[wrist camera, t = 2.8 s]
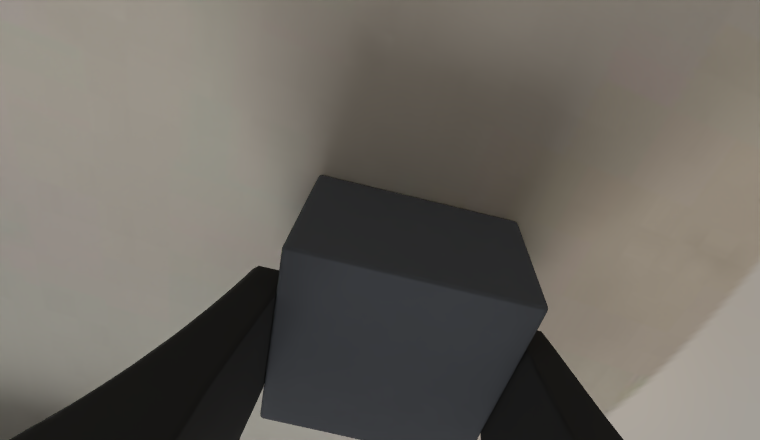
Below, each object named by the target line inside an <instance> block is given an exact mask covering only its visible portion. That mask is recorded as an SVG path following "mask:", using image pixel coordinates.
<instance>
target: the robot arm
mask: <svg viewBox="0 0 760 440" xmlns="http://www.w3.org/2000/svg"><path fill="white" fill-rule="evenodd" d="M278 277H279V270H274V269H270V268H266V267H261V266H258V267H256V268H254V269H253V270H251V271H250V272H249V273H248V274H247V275H246V276H245V277H244V278H243V279H242V280H241V281H239V282H238V283H237V284H236V285H235V286H234V287H233V288H232V289H230V290H229V291H228V292H227V293H226V294H225V295H224V296H222V297H221V298H220V299H219V300H218V301H216V302H215V303H214V304H213V305H212V306H210V307H209V308H208V309H207V310H205V311H204V312H203V313H202V314H200V315H199V316H198V317H197V318H195V319H194V320H193V321H192V322H190V323H189V324H188V325H187V326H185V327H184V328H183V329H181V330H180V331H179V332H178V333H176V334H175V335H174V336H172V337H171V338H169V339H168V340H167V341H165V342H164V343H162V344H161V345H160V346H158V347H157V348H155V349H154V350H153V351H151V352H150V353H148V354H147V355H146V356H144V357H143V358H142V359H140V360H139V361H137V362H136V363H135V364H133V365H132V366H130V367H129V368H127V369H126V370H124V371H123V372H121V373H120V374H118V375H117V376H115V377H114V378H112V379H111V380H109V381H107V382H106V383H104V384H103V385H101V386H100V387H98V388H97V389H95V390H93V391H92V392H90V393H88V394H87V395H85V396H84V397H82V398H80V399H79V400H77V401H75V402H74V403H72V404H71V405H69V406H67V407H66V408H64V409H62V410H60V411H59V412H57V413H55V414H53V415H52V416H50V417H48V418H46V419H45V420H43V421H41V422H39V423H38V424H36V425H34V426H32V427H31V428H29V429H27V430H25V431H24V432H22V433H20V434H18V435H17V436H15V437H13V438H11V439H10V440H239V439H240V436H241V434H242V432H243V430H244V428H245V426H246V424H247V421H248V419H249V417H250V415H251V413H252V411H253V408H254V406H255V404H256V402H257V400H258V398H259V395H260V393H261V391H262V389H263V386H264V383H265V375H266V368H267V360H268V353H269V345H270V337H271V330H272V322H273V315H274V307H275V300H276V292H277V284H278ZM481 440H623V439H622V437H621V436H620V435H619V434H618V432H617V431H616V430H615V428H614V427H613V426H612V425H611V423H610V422H609V421H608V419H607V418H606V417H605V416H604V414H603V413H602V412H601V410H600V409H599V408H598V406H597V405H596V404H595V402H594V401H593V400H592V398H591V397H590V396H589V394H588V393H587V392H586V390H585V389H584V388H583V386H582V385H581V384H580V382H579V381H578V380H577V378H576V377H575V376H574V374H573V373H572V372H571V370H570V369H569V367H568V366H567V365H566V363H565V362H564V361H563V359H562V358H561V357H560V355H559V354H558V353H557V351H556V350H555V349H554V347H553V346H552V345H551V343H550V342H549V341H548V339H547V338H546V337H545V336H544V334H543V333H542V332H541V331H536V333H535V335H534V336H533V338H532V340H531V342H530V344H529V346H528V347H527V349H526V351H525V353H524V355H523V356H522V358H521V360H520V362H519V364H518V366H517V367H516V369H515V371H514V373H513V375H512V376H511V378H510V380H509V382H508V384H507V386H506V387H505V389H504V391H503V393H502V395H501V396H500V398H499V400H498V402H497V404H496V405H495V407H494V409H493V411H492V413H491V415H490V416H489V418H488V420H487V422H486V424H485V425H484V427H483V429H482V431H481Z"/></svg>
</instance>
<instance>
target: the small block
mask: <svg viewBox="0 0 760 440" xmlns="http://www.w3.org/2000/svg"><path fill="white" fill-rule="evenodd" d="M547 310H548V306H547V303H546V301H545V298H544V295H543V292H542V290H541V287H540V284H539V281H538V279H537V276H536V273H535V271H534V268H533V265H532V262H531V260H530V257H529V254H528V251H527V249H526V246H525V243H524V240H523V238H522V235H521V232H520V230H519V227H518V224H517V223H516V222H514V221H510V220H506V219H502V218H498V217H494V216H490V215H485V214H481V213H477V212H473V211H469V210H465V209H460V208H456V207H452V206H448V205H444V204H440V203H435V202H431V201H427V200H423V199H419V198H415V197H411V196H406V195H402V194H398V193H394V192H390V191H386V190H381V189H377V188H373V187H369V186H365V185H361V184H356V183H352V182H348V181H344V180H340V179H336V178H332V177H327V176H323V175H320V176H319V177H318V179H317V181H316V183H315V185H314V187H313V189H312V191H311V193H310V194H309V196H308V198H307V200H306V202H305V204H304V206H303V208H302V210H301V212H300V214H299V216H298V218H297V220H296V222H295V224H294V226H293V228H292V230H291V232H290V234H289V236H288V237H287V239H286V241H285V243H284V245H283V247H282V254H281V262H280V269H279V277H278V284H277V292H276V300H275V307H274V315H273V322H272V330H271V337H270V345H269V353H268V360H267V368H266V375H265V383H264V390H263V398H262V406H261V417H262V418H265V419H269V420H274V421H278V422H283V423H288V424H292V425H297V426H301V427H306V428H310V429H315V430H319V431H324V432H328V433H333V434H337V435H342V436H346V437H351V438H355V439H360V440H477V438H478V436H479V435H480V433H481V431H482V429H483V427H484V425H485V424H486V422H487V420H488V418H489V416H490V415H491V413H492V411H493V409H494V407H495V405H496V404H497V402H498V400H499V398H500V396H501V395H502V393H503V391H504V389H505V387H506V386H507V384H508V382H509V380H510V378H511V376H512V375H513V373H514V371H515V369H516V367H517V366H518V364H519V362H520V360H521V358H522V356H523V355H524V353H525V351H526V349H527V347H528V346H529V344H530V342H531V340H532V338H533V336H534V335H535V333H536V331H537V329H538V327H539V326H540V324H541V322H542V320H543V318H544V316H545V315H546V313H547Z"/></svg>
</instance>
